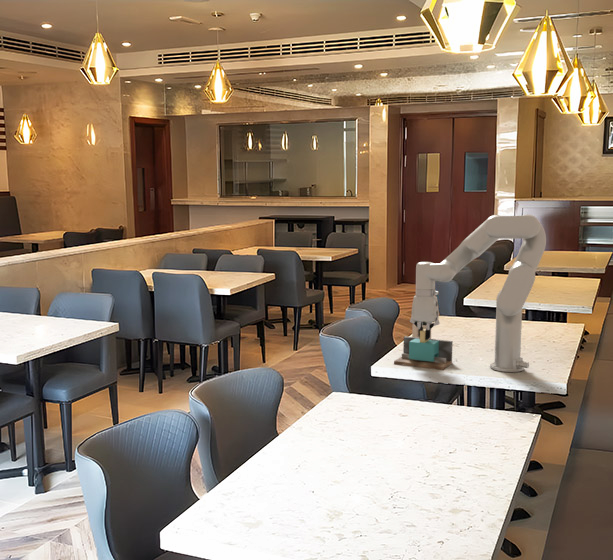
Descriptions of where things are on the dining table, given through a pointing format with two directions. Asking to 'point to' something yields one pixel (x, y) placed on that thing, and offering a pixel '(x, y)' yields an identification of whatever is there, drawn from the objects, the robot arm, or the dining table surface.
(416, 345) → the teal block
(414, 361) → the wall board
